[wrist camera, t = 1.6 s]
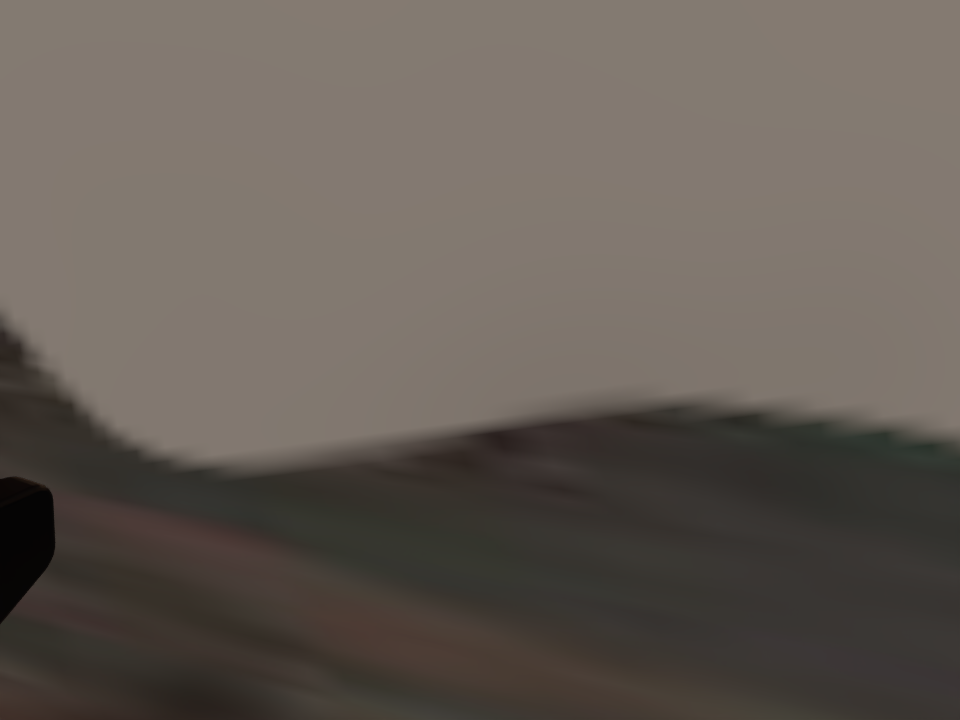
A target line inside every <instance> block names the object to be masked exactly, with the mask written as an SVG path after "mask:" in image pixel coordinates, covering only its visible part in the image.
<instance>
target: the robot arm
mask: <svg viewBox="0 0 960 720" xmlns="http://www.w3.org/2000/svg"><path fill="white" fill-rule="evenodd" d="M54 550H55V527H54V506H53V496H52V493H51V491H50V490H49V488H47V487H46V486H45V485H43V484H40V483H37V482H34V481H31V480H28V479H25V478H22V477H17V476H12V477H6V478H2V479H0V624H1V623H2V622H3V620H4V619H5V618H6V617H7V616H8V614H9V613H10V612H11V611H12V610H13V608H14V607H15V606H16V605H17V604H18V602H19V601H20V600H21V599H22V598H23V596H24V595H25V594H26V593H27V591H28V590H29V589H30V588H31V587H32V585H33V584H34V583H35V582H36V581H37V579H38V578H39V577H40V576H41V575H42V573H43V572H44V571H45V570H46V568H47V567H48V565H49V563H50V562H51V560H52V557H53V555H54Z"/></svg>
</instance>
